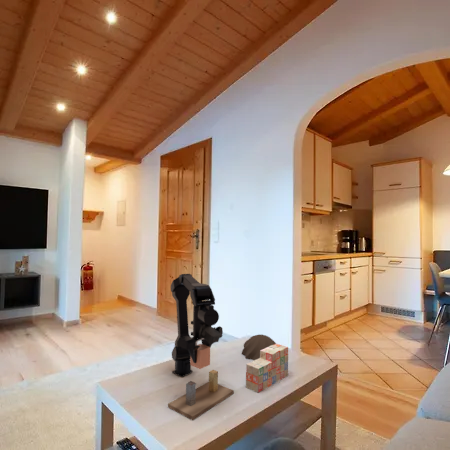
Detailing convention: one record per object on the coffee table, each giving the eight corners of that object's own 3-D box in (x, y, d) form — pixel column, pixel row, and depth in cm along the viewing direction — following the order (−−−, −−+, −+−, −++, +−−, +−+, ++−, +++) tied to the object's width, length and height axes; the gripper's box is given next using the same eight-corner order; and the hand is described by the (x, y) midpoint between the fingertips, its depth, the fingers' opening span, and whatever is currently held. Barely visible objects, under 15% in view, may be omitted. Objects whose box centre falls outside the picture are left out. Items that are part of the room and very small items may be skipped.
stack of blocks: (258, 393, 118) (258, 360, 118) (245, 387, 122) (245, 356, 122) (288, 375, 133) (288, 346, 134) (276, 370, 137) (276, 342, 138)
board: (168, 407, 107) (168, 403, 107) (210, 383, 124) (210, 380, 124) (192, 420, 100) (192, 416, 100) (233, 393, 117) (233, 390, 117)
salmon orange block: (190, 365, 116) (190, 347, 116) (200, 360, 120) (200, 343, 120) (200, 369, 112) (200, 350, 113) (210, 364, 116) (210, 346, 117)
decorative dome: (267, 366, 142) (267, 344, 143) (233, 355, 155) (234, 335, 156) (288, 354, 157) (288, 334, 157) (255, 345, 170) (256, 326, 170)
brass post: (208, 393, 117) (208, 371, 117) (212, 391, 118) (213, 369, 119) (213, 395, 115) (213, 373, 115) (217, 393, 117) (217, 371, 117)
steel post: (185, 407, 107) (186, 383, 108) (190, 404, 109) (190, 380, 109) (190, 409, 106) (190, 385, 106) (195, 406, 108) (195, 383, 108)
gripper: (197, 328, 104) (197, 375, 104) (232, 317, 119) (232, 359, 118) (176, 322, 112) (175, 366, 111) (211, 312, 126) (211, 351, 125)
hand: (200, 360), depth 116 cm, fingers closed on salmon orange block, 5 cm apart
